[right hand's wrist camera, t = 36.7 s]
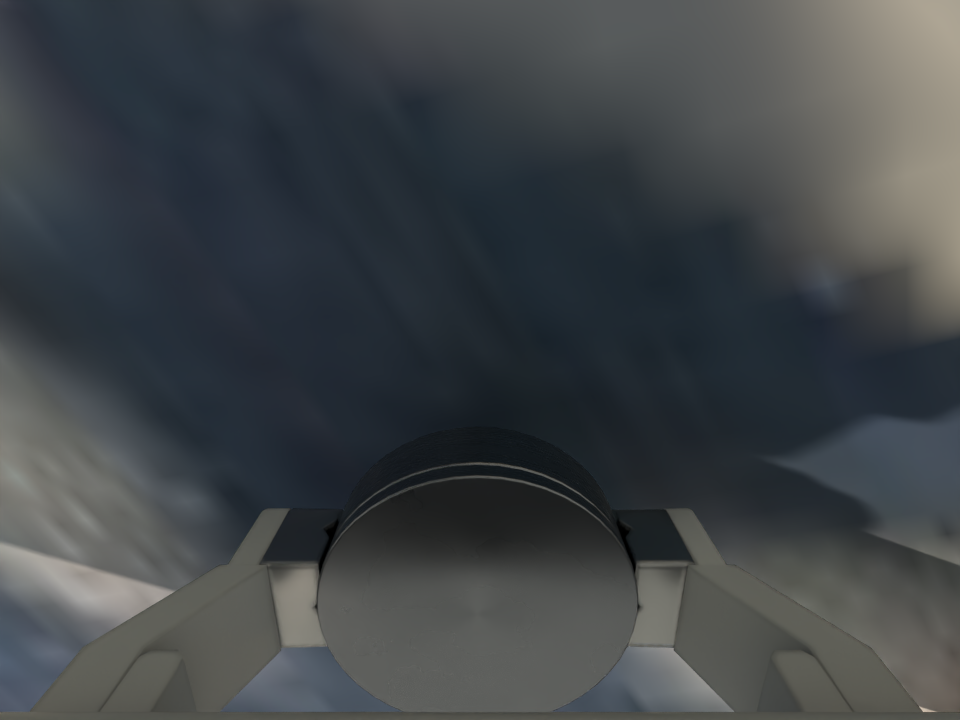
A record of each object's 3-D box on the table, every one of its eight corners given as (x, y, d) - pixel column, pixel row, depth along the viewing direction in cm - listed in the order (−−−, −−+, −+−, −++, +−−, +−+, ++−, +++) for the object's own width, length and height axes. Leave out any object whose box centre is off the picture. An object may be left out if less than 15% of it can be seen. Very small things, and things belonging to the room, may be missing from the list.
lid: (296, 588, 10) (265, 659, 9) (420, 374, 9) (407, 416, 7) (523, 683, 11) (529, 763, 10) (671, 504, 10) (705, 567, 8)
